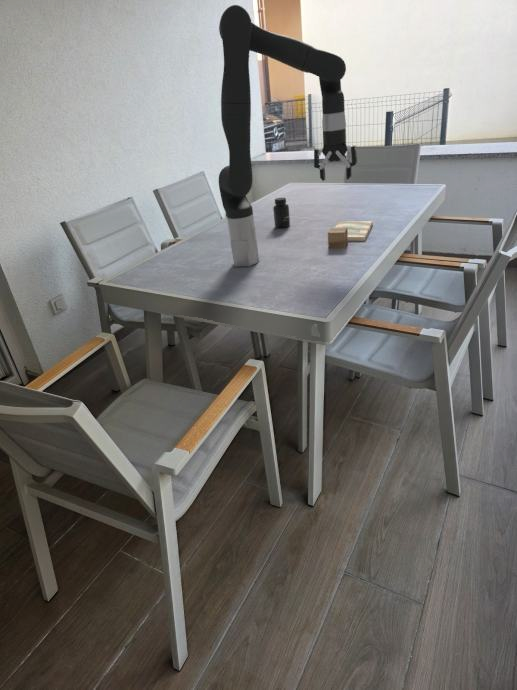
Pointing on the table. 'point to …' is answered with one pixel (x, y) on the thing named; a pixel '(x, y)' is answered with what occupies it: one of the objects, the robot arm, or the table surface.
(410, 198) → the table surface
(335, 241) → the walnut block
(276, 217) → the supplement bottle
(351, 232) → the birch board
